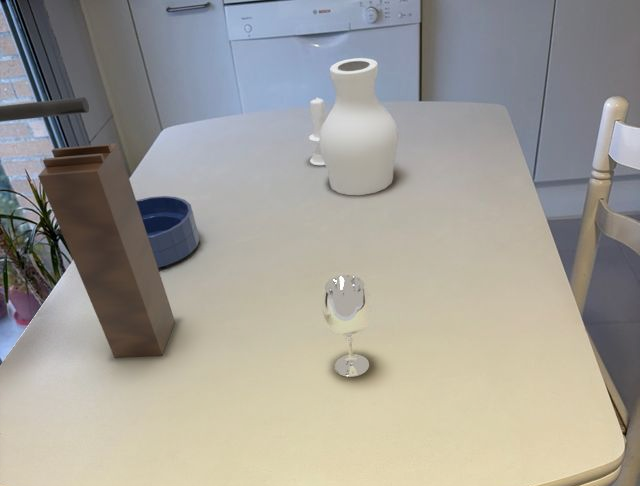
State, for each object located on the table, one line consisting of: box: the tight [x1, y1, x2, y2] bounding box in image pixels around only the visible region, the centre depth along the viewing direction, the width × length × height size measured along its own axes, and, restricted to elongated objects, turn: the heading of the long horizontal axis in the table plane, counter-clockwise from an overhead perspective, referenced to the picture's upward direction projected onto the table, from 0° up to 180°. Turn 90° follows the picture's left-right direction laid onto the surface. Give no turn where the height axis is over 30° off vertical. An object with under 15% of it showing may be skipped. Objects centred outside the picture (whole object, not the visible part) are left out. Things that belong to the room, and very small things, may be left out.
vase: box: [319, 57, 399, 196], centre depth 115 cm, size 14×14×20 cm
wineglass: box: [322, 274, 372, 378], centre depth 79 cm, size 6×6×12 cm
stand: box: [37, 142, 176, 358], centre depth 84 cm, size 7×8×27 cm
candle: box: [308, 97, 327, 166], centre depth 127 cm, size 5×5×12 cm
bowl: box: [136, 195, 201, 268], centre depth 110 cm, size 15×15×6 cm
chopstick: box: [0, 96, 90, 123], centre depth 75 cm, size 20×2×2 cm, turn 86°
